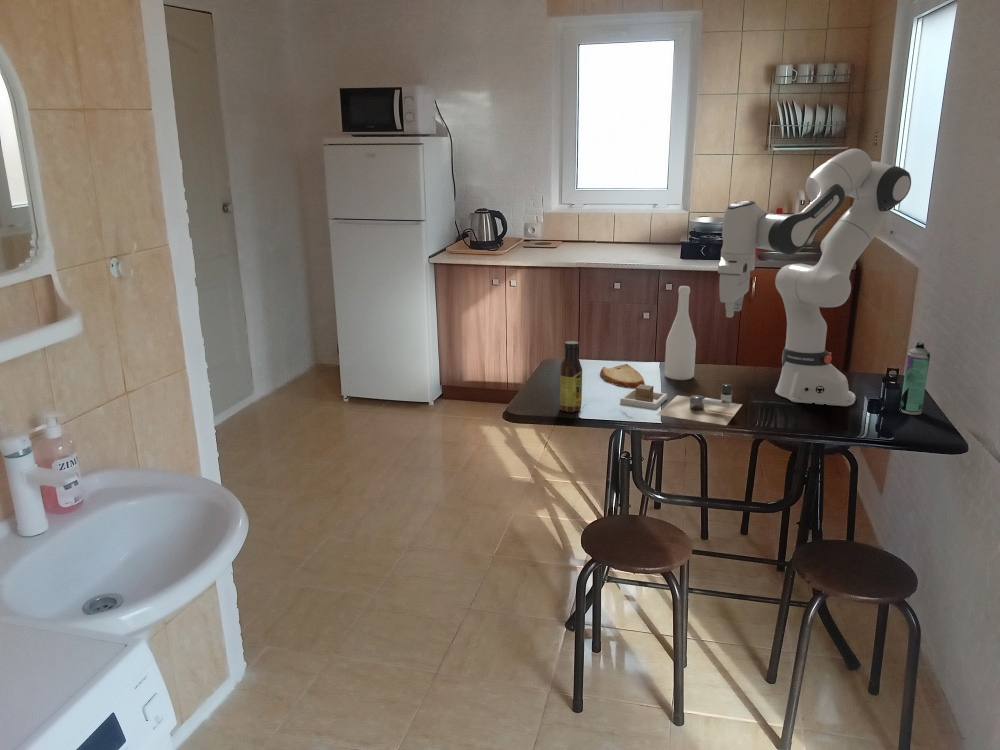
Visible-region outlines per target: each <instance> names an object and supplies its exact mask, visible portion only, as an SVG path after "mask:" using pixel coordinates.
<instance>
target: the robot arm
mask: <svg viewBox="0 0 1000 750" xmlns="http://www.w3.org/2000/svg"><path fill="white" fill-rule="evenodd" d="M911 186H912V177H911V174H910V172H909V171H907V170H906V169H904V168H903V167H900V166H897V165H891V164H887V163H884V162H880V161H878V160H877V161H873V160H872V159H871V156H869V154H868V153H867V152H866V151H864V150H862V149H860V148H849V149H846V150H844V151H842V152H840V153H837V154H836V155H834V156H833V157H831V158H830V159H828V160H826V161H825V162H824V163H822V164H820V165H819V166H818V167H817V168H816V169H814V170H813V171H812V172H811V173H810V174H809V175H808V177H807V179H806V181H805V191H806V195H807V197H808V199H809V201H810V203H809V204H808V205H807V206H806V207H805V208H804V209H802V210H801V211H800V212H798V213H792V214H784V213H781V214H780V213H772V212H769V211H767V210H765V209H763V208H761V207H760V206H759V205H758V204H757V203H756V201H753V200H742V201H741V200H739V201H736V202H732V203H731V204H728V205H727V206H726V209H725V210H724V216H723V221H722V230H721V238H722V247H721V249H720V261H719V264H718V266H717V273H718V274H719V281H718V282H719V300H720V302H721V303H724V306H725V317H726V318H733V317H734V315H735V312H740V311H742V307H743V302H744V301H743V300H744V295H746V294H747V293H748V292H749V290H750V280H751V272H753V271H754V270H755V261H756V249H762V250H766V251H773V252H777V253H782V254H784V255H794V254H797V253H798V252H800V251H801V250H802V249H804V247H806V245H807V243H808V242H809V240H810V239H811V237H812V236H813V235H814V233H816V231H817V230H818V229H819V228H821V226H823V224H824V223H825V222H827V221H828V220H829V219H830V218H831V217H832V216H833V215H834V214H835V213H836V212H837V211H838V210H839V209H840V208H841V206H842V205H843V203H844V202H845V198H846V197H850V198H852V199H854V200H853V203H852V205H851V206H850V207H849V208H848V209H847V210H846V211H845V212H844V213H843V214H842V215H841V217H839V219H838V220H837V222H835V224H834V225H833V226H832V228H831V229H830V230H829V232H828V233H827V234H826V235H825V236H824V238H823V239H822V240H821V243H820V251H821V256H820V259H819V261H818V262H817V263H816V264H815V265H812V264H811V265H810V264H805V263H791V264H787V265H785V266H782V267H781V268H780V269H779V270H778V271H777V273H776V276H775V279H774V280H775V282H774V283H775V288H776V290H777V292H778V293H779V294H780V296H781V298H782V302H783V305H784V309H785V310H784V311H785V316H786V333H785V334H786V335H785V336H786V338H785V346H784V348H783V350H782V356H781V364H782V368H781V373H780V377H779V381H778V383H777V386H776V388H775V390H774V391H775V394H777V395H778V396H780V397H783V398H785V399H788V400H790V401H791V402H792V403H804V404H812V403H815V405H824V404H826V406H827V405H828V406H840V407H849V406H852V405H854V404H855V402H856V395H855V393H854V392H852V391H850V390H849V383H848V379H847V377H846V375H845V374H843V373H842V372H841V371H840V369H839V370H838V369H837V368H836V367H835V366H834V365H833V364H832V362H831V361H832V360H833V358H832V352H831V351H830V352H829V351H827V350H826V343H827V341H826V339H827V333H828V325H827V322H826V320H825V319H824V317H823V315H822V313H821V310H820V308H836V307H837V308H838V307H840V306H842V305H844V304H845V303H846V302H847V300H848V299H849V297H850V295H851V291H852V283H851V280H850V276H851V271H852V269H853V267H854V265H855V263H856V262H857V260H858V259H859V257H861V255H862V253H864V251H865V250H866V248H867V247H868V246H869V245H870V244H871V242H872V241H873V239H874V238H875V237H876V235H877V233H878V232H879V231H880V229H881V227H882V225H883V224H884V221H885V219H886V217H887V212H888V211H891V210H892V209H893V208H895V207H896V206H898V205H899V204H900V203H901V202H902V201H904V199H905V198H906V197H907V196H908V194H909V192H910V190H911Z"/></svg>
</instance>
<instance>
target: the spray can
mask: <svg viewBox="0 0 1000 750" xmlns="http://www.w3.org/2000/svg"><path fill="white" fill-rule="evenodd" d="M930 360H931V352H930V351H929V350H927V349H926V346H925V343H924V342H917V343H916V345H915V346H914V348H911V349H908V353H907V357H906V365H905V369H904V370H905V371H904V379H903V386H902V391H901V392H902V393H901V399H900V405H899V410H900V409H901V411H902V412H901V411H900V412H901V413H904V414H908V415H910V416H911V415H913V416H914V415H915V416H917V415H921V414H922V411H923V410H922V409H923V406H924V405H923V404H924V398H925V391H926V385H927V378H928V372H929V367H930Z"/></svg>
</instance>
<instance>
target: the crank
mask: <svg viewBox="0 0 1000 750" xmlns="http://www.w3.org/2000/svg"><path fill="white" fill-rule="evenodd" d="M732 396H733V384H731V383H722V384H721V393H720V399H716V398H710V397H705V396H704V395H703V396H702V395H698V394H697V395H691V396H689V397H690V408H691V409H695V410H702V409H704V404H709V405H715V406H721V407H727V408H729V407H730V406H731V403H732Z"/></svg>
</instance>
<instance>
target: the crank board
mask: <svg viewBox="0 0 1000 750" xmlns="http://www.w3.org/2000/svg"><path fill="white" fill-rule="evenodd" d="M742 406H743V404H742V403H734V402H731V406H730V407H729V408H727V407H721V406H715V405H709V404H704V409H702V410H695V409H691V408H690V396H686V395H685V396H684V395H679V394H678V395H675V397H674V398H673V399H672V400H670V401H669V402H668V403H667V404H666V405H665V406H664V407H663V408H662V409H661V410H660V411H659V412H658V413H657V414H656V415H657V416H662V417H669V418H670V417H671V418H677V419H683V420H688V421H694V422H695V421H696V422H700V423H701V422H702V423H706V424H707V423H708V424H714V425H721V426H728V424H729V423H730V421H731V420H732V419H733V417H734V416H735V415H736V413H737V412H738V411H739V410H740V408H741V407H742Z"/></svg>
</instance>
